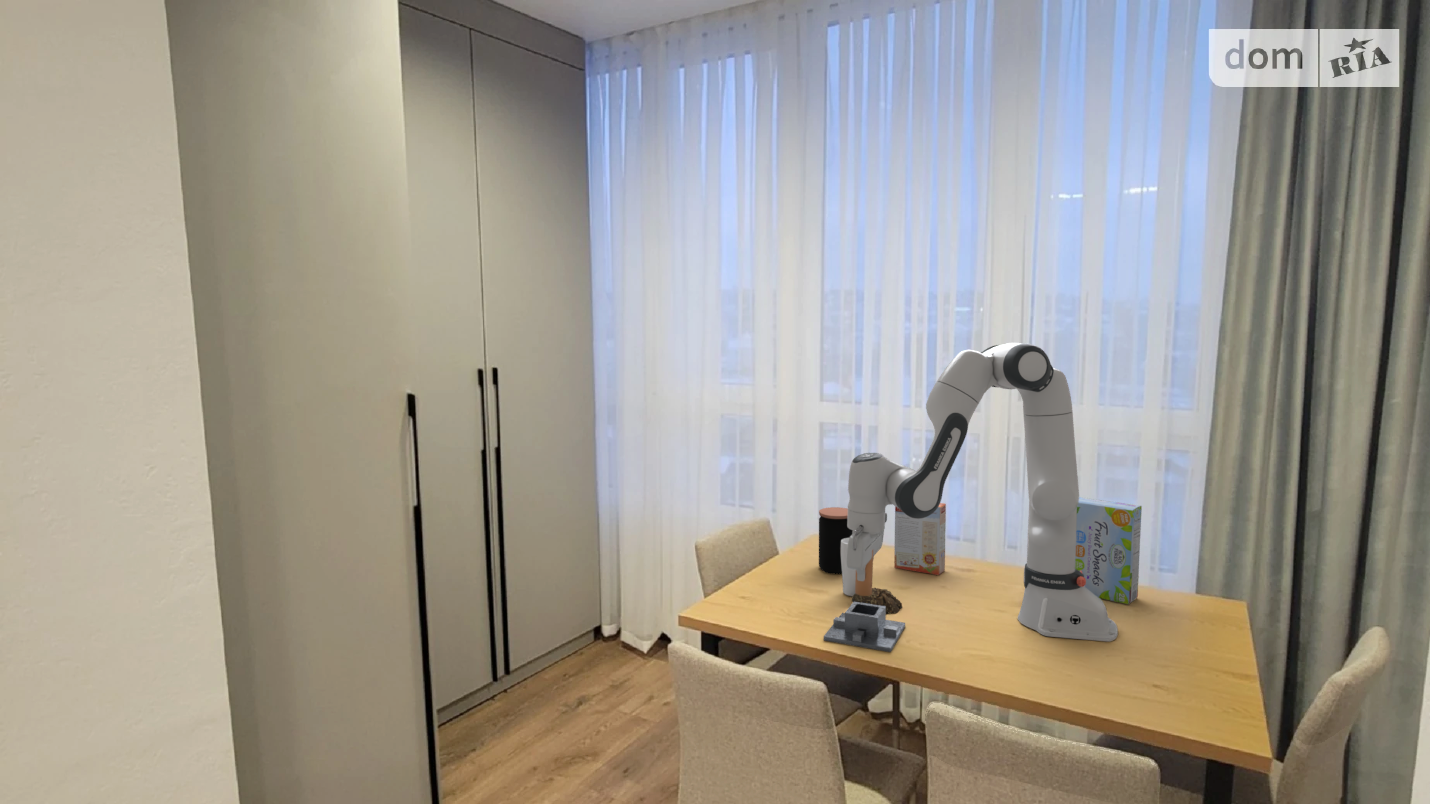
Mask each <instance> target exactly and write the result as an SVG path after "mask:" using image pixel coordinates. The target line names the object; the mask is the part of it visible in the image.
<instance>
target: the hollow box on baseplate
mask: <svg viewBox="0 0 1430 804" xmlns="http://www.w3.org/2000/svg"><path fill="white" fill-rule="evenodd" d="M886 617H887V612H886V606H880V605H873V604H867V603H860V602H852V603H851V604H850V606H849V607H848V608H847V609H846V610H845V612H842V613H841V614H840V615H839V616H835V617H834V618H833V623H832V625H831V627H830V628H828V629H827V631H826V632H825V634H824V635H823V641H825V642H830V643H836V644H841V645H847V646H854V647H860V648H864V649H868V650H869V649H870V650H877V651H883V652H887V653H891V652H892V651H893V649H894V648H895V646H896V644H897V642H898V641H899V638H900V636H901V635H902V634H903V631H904V630H905V628H906V622H902V621H896V620H889V619H886Z"/></svg>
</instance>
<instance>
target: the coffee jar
mask: <svg viewBox="0 0 1430 804" xmlns="http://www.w3.org/2000/svg"><path fill="white" fill-rule="evenodd" d="M818 514H819V516H820V517H819V518H818V567H819V569H820V570H821V571H822V572H824V573H825V574H830V575H842V567H841V540H842V539H845V538H850V536H851V535H852V531H853V530H851V529H849V528H848V527H847V519H848V507H846V508H845V507H839V506H837V507H835V506H832V507H823V508H821V509H819V510H818Z"/></svg>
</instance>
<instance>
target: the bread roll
mask: <svg viewBox="0 0 1430 804" xmlns="http://www.w3.org/2000/svg"><path fill="white" fill-rule="evenodd" d="M851 602H852V603H853V602H860V603H867V604H873V605H880V606H886V613H888V614H897V613H898V612H899V611H900V609H902V608H903V603H902V602H901V600H899V598H897V597H896V596H894V594H892V592H891V591H890V590H888V589H886V588H878V587H872V594H871V595H869V596H861V595H857V594H856V593H855V594H854V595H853V596H851Z"/></svg>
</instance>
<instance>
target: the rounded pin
mask: <svg viewBox="0 0 1430 804" xmlns="http://www.w3.org/2000/svg"><path fill="white" fill-rule="evenodd" d="M873 566H874V559H873V550H872V558H871V560H870V561H869V562H868V563H867V565H866V567H865V573H866V579H865V580H864V581H858V580H857V571H856V580H855V593H856V594H857V595H861V596H869V595H871V594H872V588H873V573H874V570H873V569H874V567H873Z"/></svg>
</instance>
